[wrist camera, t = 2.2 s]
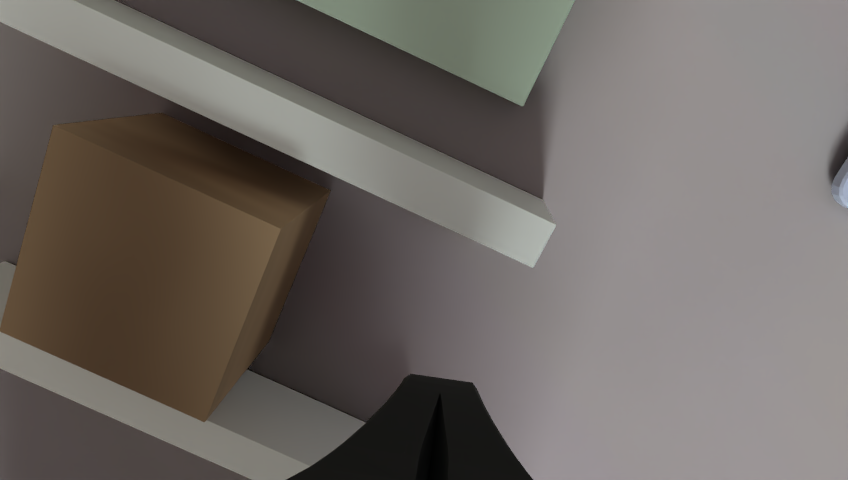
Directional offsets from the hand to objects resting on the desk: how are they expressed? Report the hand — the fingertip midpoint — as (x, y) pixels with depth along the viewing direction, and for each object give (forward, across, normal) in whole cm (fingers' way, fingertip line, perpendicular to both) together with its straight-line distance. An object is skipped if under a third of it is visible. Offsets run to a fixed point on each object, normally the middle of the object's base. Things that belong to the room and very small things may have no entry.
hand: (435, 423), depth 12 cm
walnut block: (+4, +6, -2) cm, 8 cm away
